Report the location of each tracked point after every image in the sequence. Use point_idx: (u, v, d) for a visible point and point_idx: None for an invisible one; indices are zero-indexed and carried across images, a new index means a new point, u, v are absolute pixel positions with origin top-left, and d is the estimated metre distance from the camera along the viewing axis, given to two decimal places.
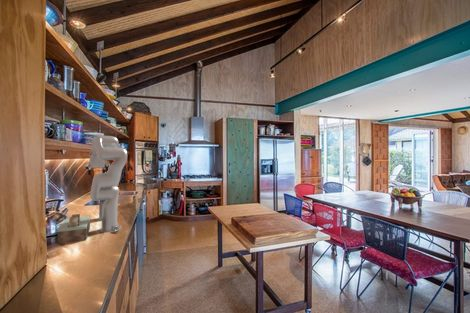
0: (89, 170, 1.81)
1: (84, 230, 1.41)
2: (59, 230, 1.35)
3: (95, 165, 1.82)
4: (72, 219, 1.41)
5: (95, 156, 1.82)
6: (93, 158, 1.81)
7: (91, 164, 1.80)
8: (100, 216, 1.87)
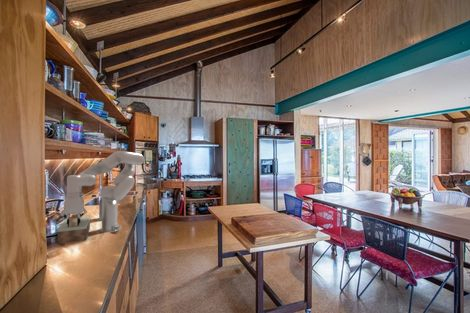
0: None
1: (84, 230, 1.41)
2: (59, 230, 1.35)
3: None
4: (72, 219, 1.41)
5: None
6: None
7: None
8: (100, 216, 1.87)
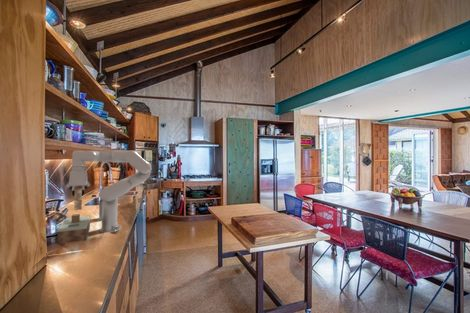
0: None
1: (84, 230, 1.41)
2: (59, 230, 1.35)
3: None
4: (77, 190, 1.55)
5: None
6: None
7: None
8: (100, 216, 1.87)
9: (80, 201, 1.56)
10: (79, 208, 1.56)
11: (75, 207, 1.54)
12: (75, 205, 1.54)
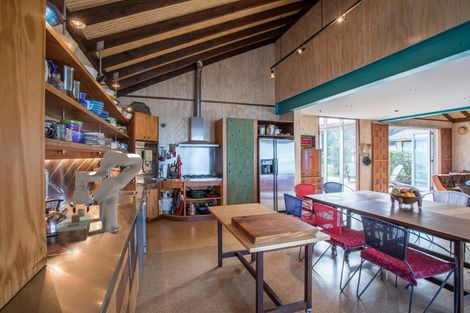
0: None
1: (84, 230, 1.41)
2: (59, 230, 1.35)
3: None
4: (80, 211, 1.65)
5: None
6: None
7: None
8: (100, 216, 1.87)
9: None
10: None
11: None
12: None
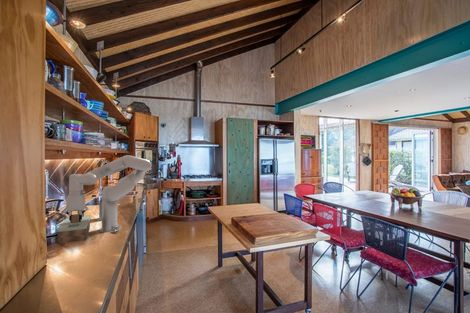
0: None
1: (84, 230, 1.41)
2: (59, 230, 1.35)
3: None
4: None
5: None
6: None
7: None
8: (100, 216, 1.87)
9: None
10: None
11: None
12: None
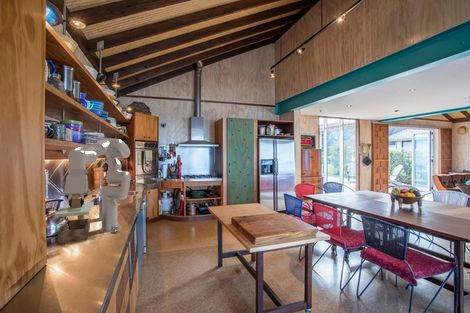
0: None
1: (84, 230, 1.41)
2: (56, 215, 1.11)
3: None
4: None
5: None
6: None
7: None
8: (100, 216, 1.87)
9: None
10: None
11: None
12: None
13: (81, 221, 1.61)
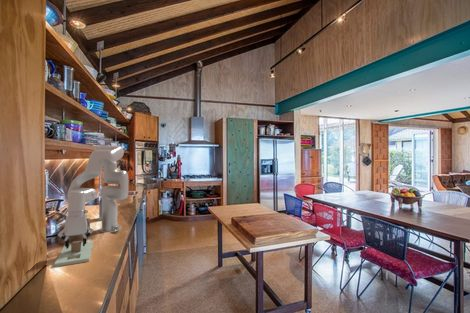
0: None
1: None
2: (56, 265, 1.10)
3: None
4: None
5: None
6: None
7: None
8: (100, 216, 1.87)
9: None
10: None
11: None
12: None
13: None
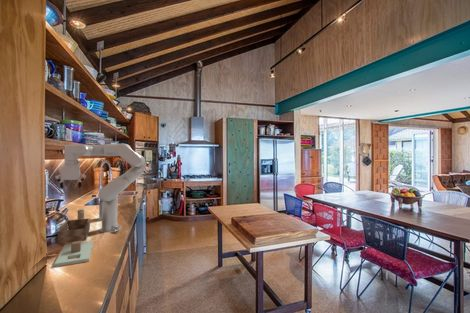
0: None
1: (84, 230, 1.41)
2: (56, 265, 1.10)
3: None
4: (80, 211, 1.65)
5: None
6: None
7: None
8: (100, 216, 1.87)
9: None
10: None
11: None
12: None
13: (81, 221, 1.61)
